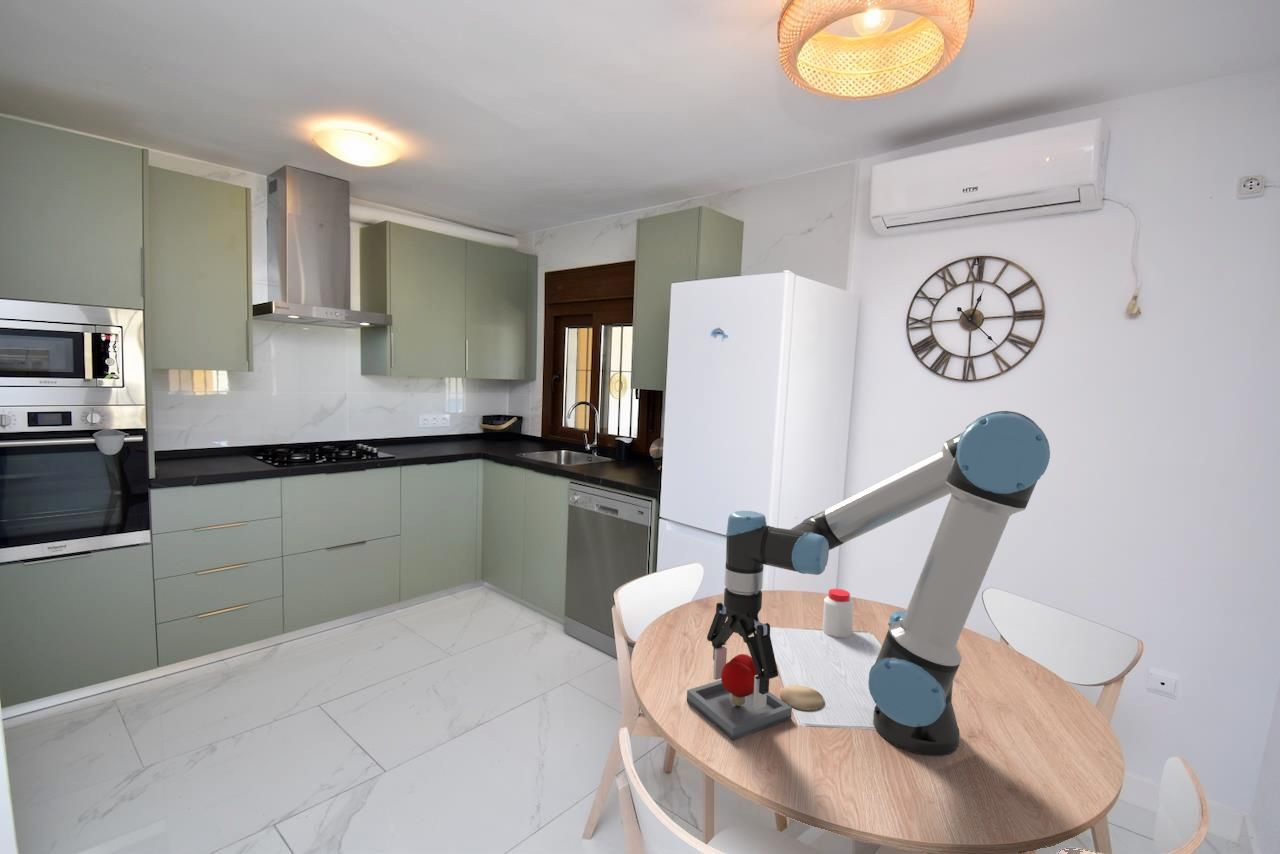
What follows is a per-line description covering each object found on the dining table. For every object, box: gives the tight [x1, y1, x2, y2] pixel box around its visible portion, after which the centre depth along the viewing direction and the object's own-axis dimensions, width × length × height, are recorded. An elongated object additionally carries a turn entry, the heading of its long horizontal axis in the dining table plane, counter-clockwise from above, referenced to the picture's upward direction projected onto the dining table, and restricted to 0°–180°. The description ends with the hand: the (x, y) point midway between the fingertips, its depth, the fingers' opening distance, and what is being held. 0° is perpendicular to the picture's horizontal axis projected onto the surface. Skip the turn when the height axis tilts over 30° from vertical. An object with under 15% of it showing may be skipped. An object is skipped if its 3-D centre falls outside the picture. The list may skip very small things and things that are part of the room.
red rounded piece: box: [720, 653, 758, 707], centre depth 118 cm, size 9×7×10 cm
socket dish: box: [686, 679, 793, 741], centre depth 119 cm, size 15×15×2 cm
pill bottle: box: [821, 588, 855, 639], centre depth 158 cm, size 8×8×11 cm
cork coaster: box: [779, 684, 825, 711], centre depth 124 cm, size 9×9×1 cm
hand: (738, 691), depth 119 cm, fingers open, 12 cm apart
